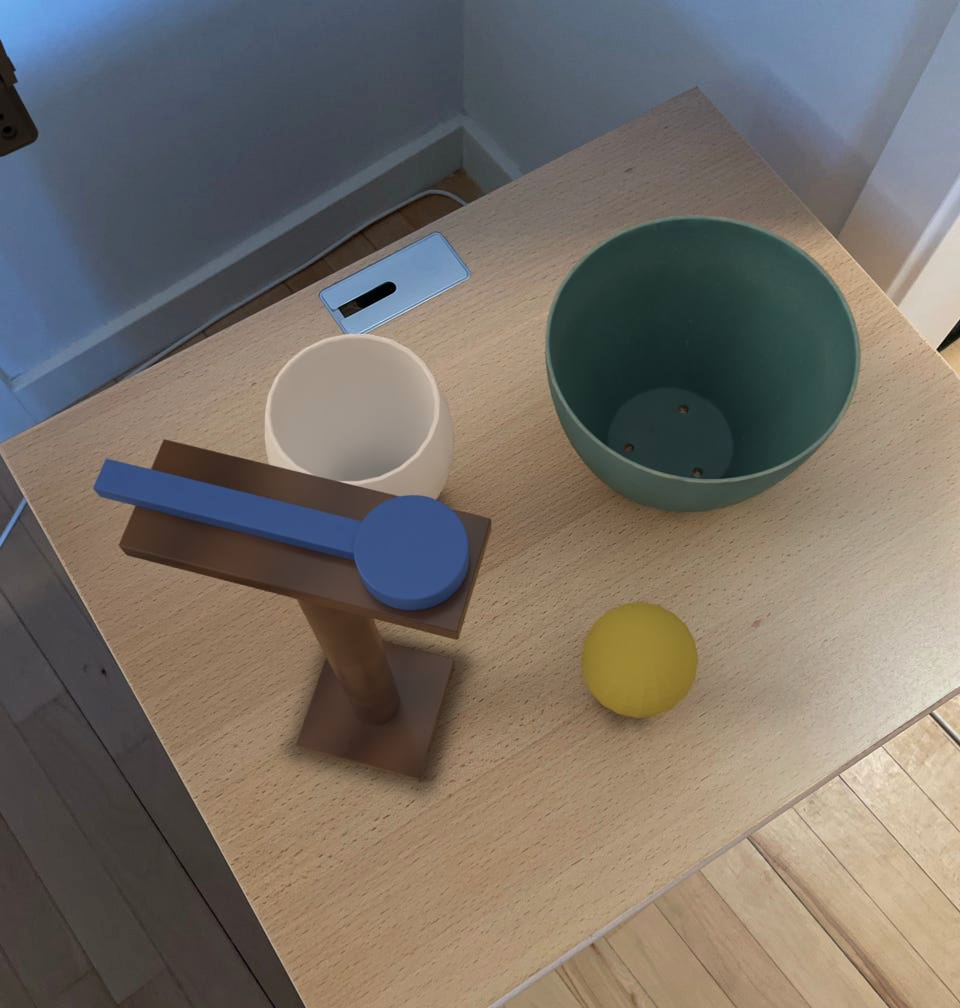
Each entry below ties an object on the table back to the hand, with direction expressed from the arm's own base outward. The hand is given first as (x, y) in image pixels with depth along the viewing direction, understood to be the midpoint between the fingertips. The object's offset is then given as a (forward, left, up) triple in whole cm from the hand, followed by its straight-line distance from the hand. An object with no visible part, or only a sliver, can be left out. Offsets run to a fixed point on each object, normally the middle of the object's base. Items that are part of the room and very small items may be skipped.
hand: (11, 138), depth 43 cm
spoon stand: (+17, -13, -29) cm, 36 cm away
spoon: (+17, -13, -3) cm, 22 cm away
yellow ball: (+32, -8, -29) cm, 44 cm away
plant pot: (+31, +10, -29) cm, 44 cm away
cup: (+14, -1, -29) cm, 32 cm away
